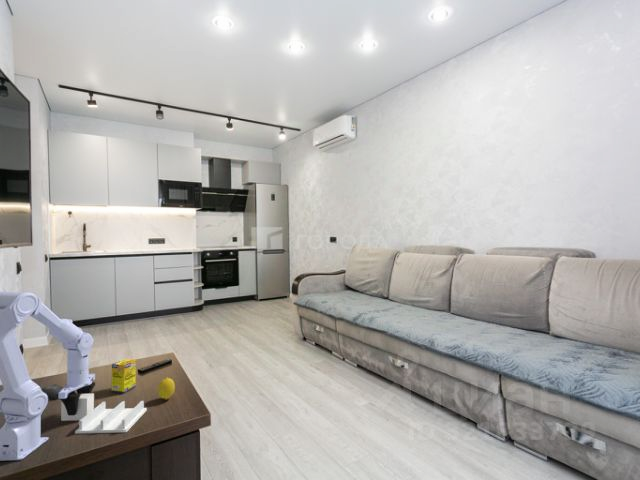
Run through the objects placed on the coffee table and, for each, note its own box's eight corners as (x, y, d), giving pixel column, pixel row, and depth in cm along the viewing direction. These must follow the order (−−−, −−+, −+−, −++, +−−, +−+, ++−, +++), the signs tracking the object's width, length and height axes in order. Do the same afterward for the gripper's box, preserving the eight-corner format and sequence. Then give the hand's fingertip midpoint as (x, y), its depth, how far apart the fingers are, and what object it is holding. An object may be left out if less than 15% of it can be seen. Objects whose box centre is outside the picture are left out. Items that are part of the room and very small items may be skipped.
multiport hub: (56, 401, 119) (56, 394, 119) (41, 394, 124) (41, 388, 124) (70, 395, 123) (70, 389, 123) (55, 389, 128) (55, 384, 128)
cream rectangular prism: (86, 420, 106) (87, 398, 106) (61, 420, 106) (61, 399, 106) (93, 414, 109) (93, 393, 110) (68, 415, 109) (69, 394, 109)
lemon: (154, 401, 119) (154, 378, 119) (168, 394, 123) (168, 373, 124) (164, 404, 116) (164, 381, 116) (178, 398, 121) (178, 376, 121)
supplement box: (124, 393, 124) (124, 365, 124) (110, 392, 125) (111, 363, 125) (136, 387, 130) (136, 359, 130) (123, 385, 131) (123, 358, 131)
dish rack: (126, 432, 99) (126, 420, 99) (75, 433, 98) (75, 421, 98) (146, 410, 112) (146, 400, 112) (101, 411, 111) (101, 401, 111)
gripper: (75, 377, 101) (75, 422, 101) (104, 360, 115) (103, 399, 115) (51, 378, 100) (51, 422, 100) (83, 361, 115) (83, 400, 115)
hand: (77, 410), depth 108 cm, fingers open, 5 cm apart
